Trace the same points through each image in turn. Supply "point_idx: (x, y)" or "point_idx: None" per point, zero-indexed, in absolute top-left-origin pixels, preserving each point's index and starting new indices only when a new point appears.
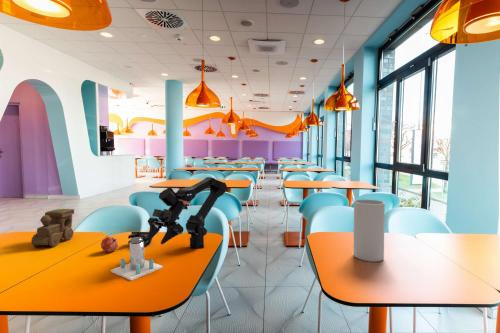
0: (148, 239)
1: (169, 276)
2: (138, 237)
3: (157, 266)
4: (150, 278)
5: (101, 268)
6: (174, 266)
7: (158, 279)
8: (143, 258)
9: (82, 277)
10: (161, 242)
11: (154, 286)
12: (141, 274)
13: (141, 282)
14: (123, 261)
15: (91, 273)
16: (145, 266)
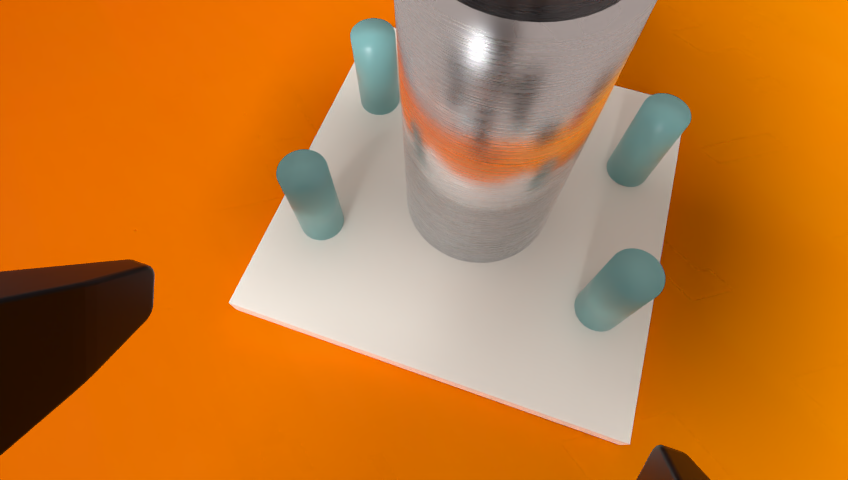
0: (651, 477)
1: (84, 157)
2: None
3: (277, 272)
4: (242, 94)
5: (836, 152)
6: (104, 378)
7: (164, 94)
8: (405, 151)
9: (788, 2)
10: (111, 262)
11: (148, 9)
12: (338, 95)
13: (279, 32)
14: (634, 119)
15: (803, 61)
16: (412, 241)
